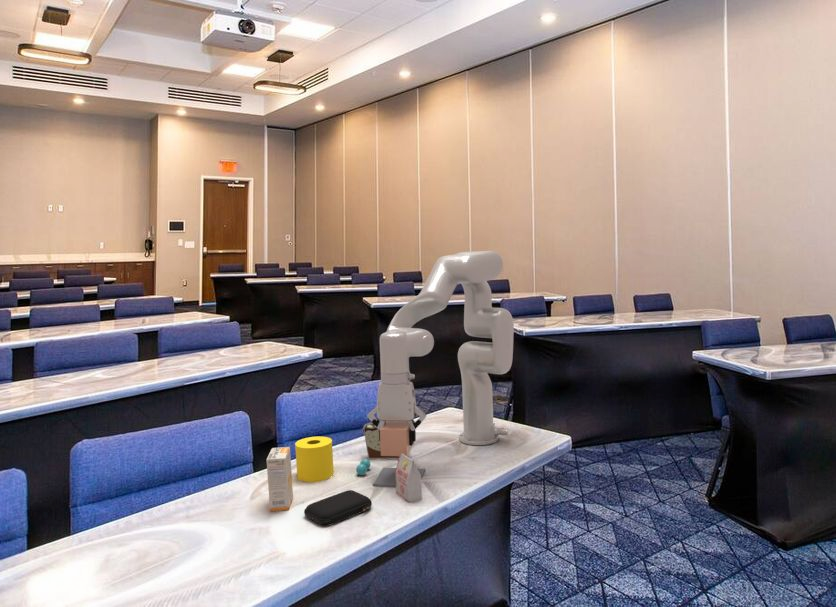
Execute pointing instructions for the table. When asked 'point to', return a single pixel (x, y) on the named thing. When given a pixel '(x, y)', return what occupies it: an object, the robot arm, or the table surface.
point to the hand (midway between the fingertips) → (397, 443)
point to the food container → (374, 442)
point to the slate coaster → (390, 477)
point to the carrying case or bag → (337, 507)
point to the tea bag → (408, 479)
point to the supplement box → (279, 478)
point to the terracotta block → (395, 438)
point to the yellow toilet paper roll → (314, 459)
